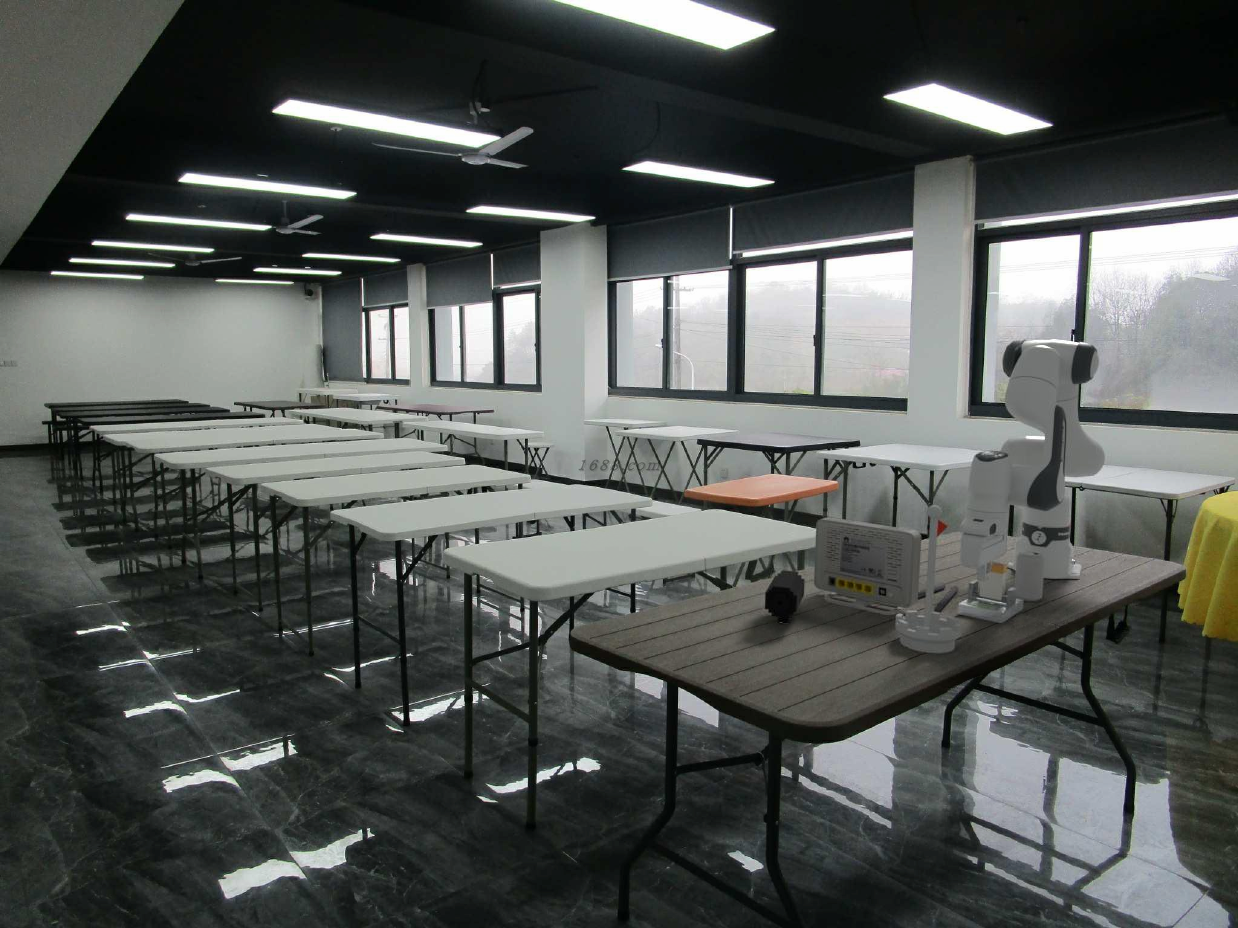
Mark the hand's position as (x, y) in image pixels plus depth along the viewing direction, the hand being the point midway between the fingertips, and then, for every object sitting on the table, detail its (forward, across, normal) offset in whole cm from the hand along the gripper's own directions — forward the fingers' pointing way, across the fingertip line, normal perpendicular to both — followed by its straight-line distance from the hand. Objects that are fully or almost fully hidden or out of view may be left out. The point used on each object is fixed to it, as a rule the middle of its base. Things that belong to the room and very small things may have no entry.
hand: (983, 579), depth 190 cm
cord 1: (+9, -10, -17) cm, 22 cm away
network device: (+9, +9, -25) cm, 28 cm away
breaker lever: (+6, -7, 0) cm, 9 cm away
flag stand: (+9, +26, -2) cm, 28 cm away
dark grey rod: (+9, -8, -11) cm, 16 cm away
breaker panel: (+9, -7, 0) cm, 12 cm away
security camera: (+9, +33, -32) cm, 47 cm away
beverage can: (+9, -25, +3) cm, 27 cm away
